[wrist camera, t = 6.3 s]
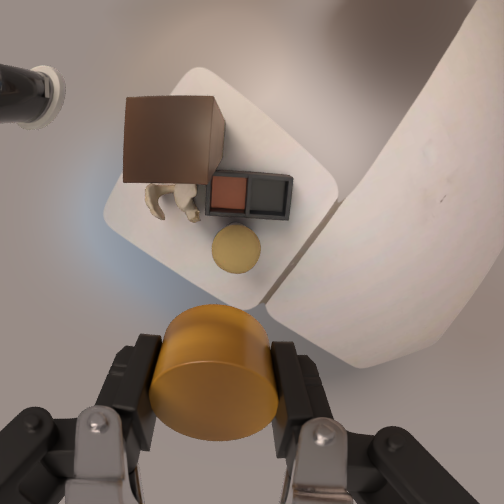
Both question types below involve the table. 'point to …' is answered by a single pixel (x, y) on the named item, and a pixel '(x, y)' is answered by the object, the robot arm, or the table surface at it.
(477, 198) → the table surface
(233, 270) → the light bulb
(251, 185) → the dark grey open box
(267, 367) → the cylinder
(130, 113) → the block
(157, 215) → the bone
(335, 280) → the table surface
